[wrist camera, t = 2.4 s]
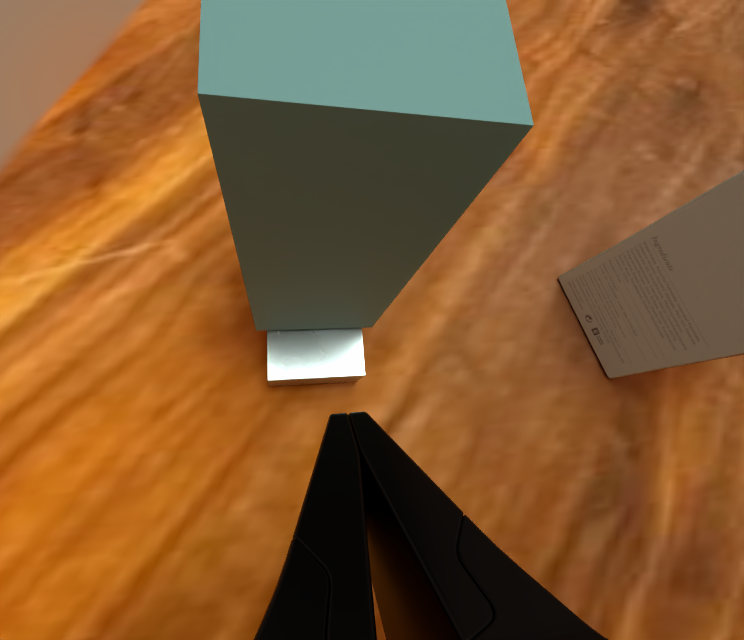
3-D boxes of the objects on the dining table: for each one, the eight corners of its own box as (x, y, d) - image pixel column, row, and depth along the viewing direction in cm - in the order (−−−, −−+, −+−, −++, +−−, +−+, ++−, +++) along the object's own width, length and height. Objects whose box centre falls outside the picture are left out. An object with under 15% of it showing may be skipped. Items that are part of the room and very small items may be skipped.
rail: (365, 380, 19) (548, 254, 6) (260, 386, 18) (198, 248, 5) (339, 48, 24) (406, -410, 11) (256, 37, 23) (223, -483, 10)
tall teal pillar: (371, 327, 17) (533, 125, 6) (255, 330, 16) (197, 92, 5) (363, 230, 19) (486, -85, 7) (255, 227, 18) (206, -147, 6)
